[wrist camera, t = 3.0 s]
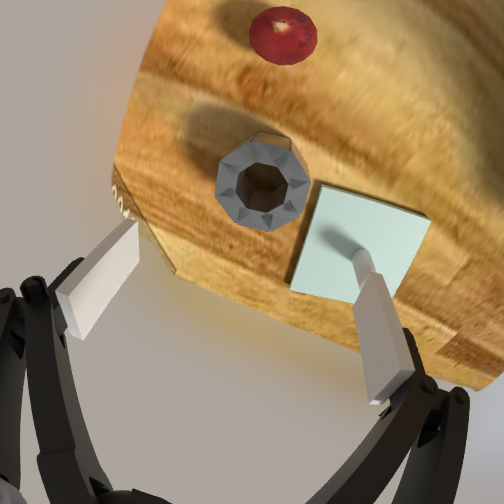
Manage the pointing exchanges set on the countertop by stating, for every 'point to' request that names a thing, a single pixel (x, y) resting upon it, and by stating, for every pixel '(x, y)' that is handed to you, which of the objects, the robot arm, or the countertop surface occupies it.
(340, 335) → the countertop surface
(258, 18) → the onion
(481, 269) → the countertop surface
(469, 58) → the countertop surface
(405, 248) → the post block
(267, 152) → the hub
